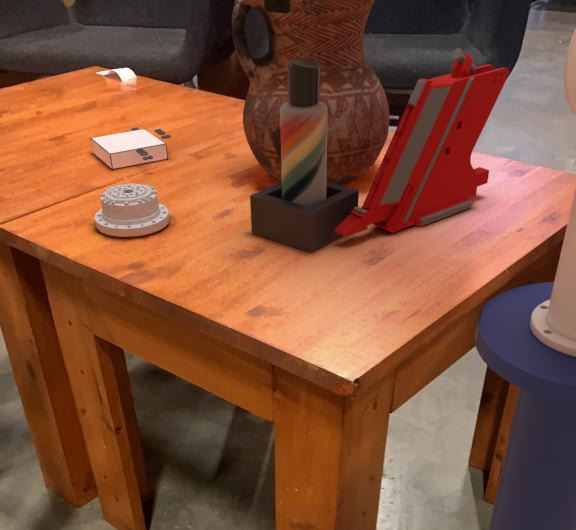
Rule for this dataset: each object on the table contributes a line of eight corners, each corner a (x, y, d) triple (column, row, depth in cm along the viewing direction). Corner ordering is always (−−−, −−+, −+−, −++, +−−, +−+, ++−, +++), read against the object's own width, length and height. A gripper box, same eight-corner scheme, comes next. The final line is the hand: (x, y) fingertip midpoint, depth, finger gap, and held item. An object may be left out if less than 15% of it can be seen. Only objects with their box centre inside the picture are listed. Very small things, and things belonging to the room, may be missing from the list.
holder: (357, 228, 102) (359, 189, 99) (310, 253, 96) (310, 213, 93) (299, 210, 107) (299, 173, 103) (251, 233, 101) (249, 195, 98)
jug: (330, 144, 128) (333, -38, 112) (416, 178, 116) (434, -22, 99) (218, 173, 119) (203, -21, 102) (298, 213, 106) (295, -1, 89)
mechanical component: (81, 227, 104) (129, 245, 99) (74, 193, 101) (123, 211, 96) (136, 205, 110) (185, 221, 105) (132, 173, 107) (181, 188, 102)
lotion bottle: (291, 220, 104) (288, 52, 91) (331, 225, 103) (334, 55, 89) (276, 236, 100) (271, 63, 87) (318, 241, 99) (319, 66, 85)
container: (82, 144, 131) (79, 127, 129) (145, 133, 135) (143, 117, 133) (123, 180, 118) (121, 161, 116) (192, 166, 122) (190, 148, 120)
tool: (358, 244, 95) (444, 19, 84) (328, 229, 97) (408, 10, 87) (458, 269, 112) (540, 87, 102) (430, 256, 115) (507, 77, 105)
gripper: (274, -211, 66) (281, 21, 78) (387, -209, 76) (378, -4, 87) (212, -206, 70) (227, 14, 81) (328, -205, 80) (327, -9, 91)
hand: (305, 5), depth 84 cm, fingers open, 9 cm apart
